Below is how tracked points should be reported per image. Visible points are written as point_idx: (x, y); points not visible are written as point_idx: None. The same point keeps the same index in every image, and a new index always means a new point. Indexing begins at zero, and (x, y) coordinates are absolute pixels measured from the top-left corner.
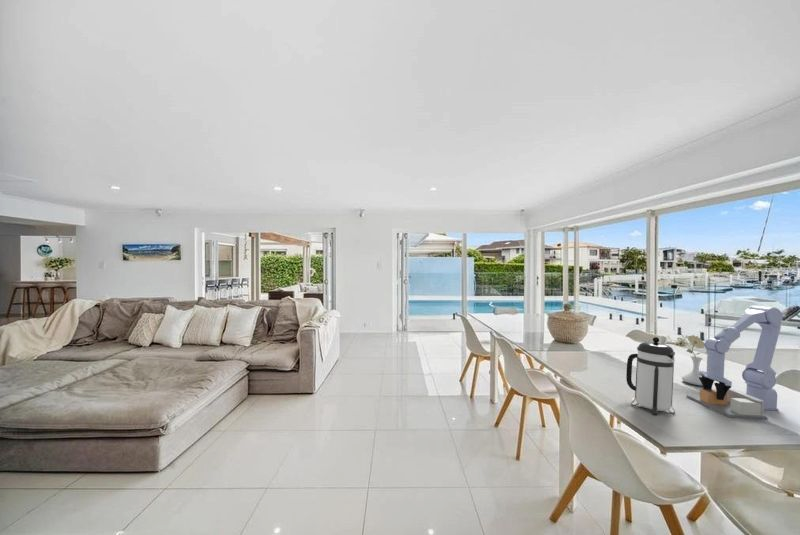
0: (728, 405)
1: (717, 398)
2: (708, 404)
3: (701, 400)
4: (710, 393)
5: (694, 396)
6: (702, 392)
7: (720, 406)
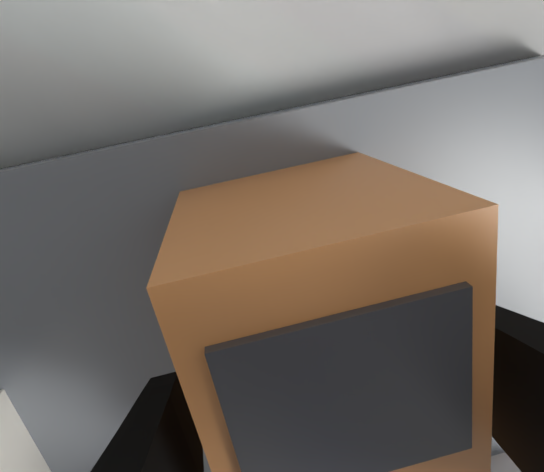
0: None
1: (163, 382)
2: (136, 179)
3: (321, 162)
4: (168, 324)
5: (514, 156)
6: (361, 202)
7: (116, 325)
